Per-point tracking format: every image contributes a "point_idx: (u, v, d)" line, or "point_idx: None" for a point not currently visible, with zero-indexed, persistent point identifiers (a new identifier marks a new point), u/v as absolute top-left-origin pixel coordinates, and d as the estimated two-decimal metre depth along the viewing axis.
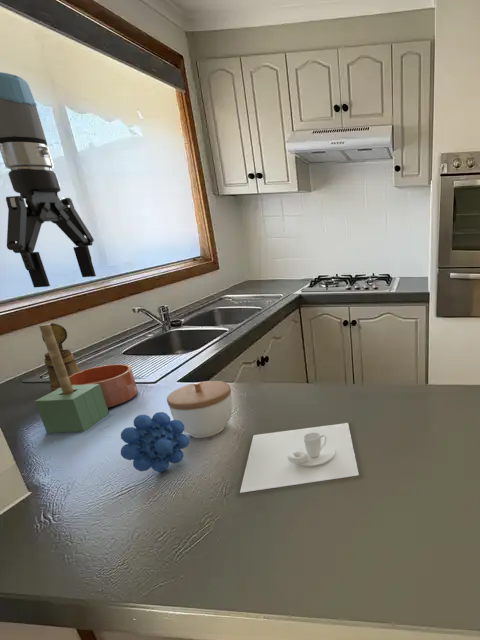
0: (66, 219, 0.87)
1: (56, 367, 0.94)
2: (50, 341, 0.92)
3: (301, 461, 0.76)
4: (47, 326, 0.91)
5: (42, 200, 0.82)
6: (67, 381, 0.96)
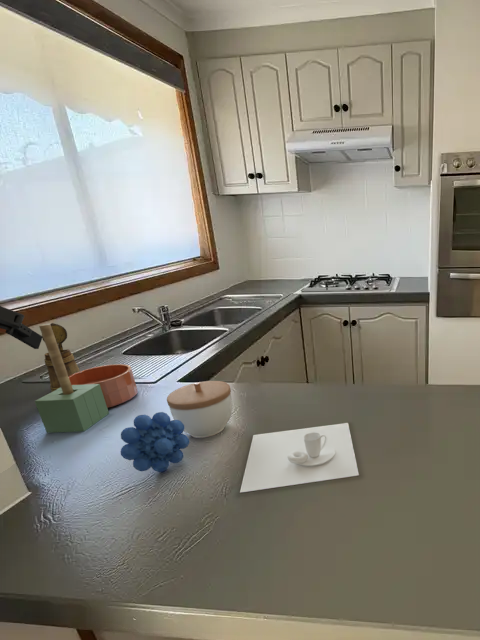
0: None
1: (56, 367, 0.94)
2: (50, 341, 0.92)
3: (301, 461, 0.76)
4: (47, 326, 0.91)
5: None
6: (67, 381, 0.96)
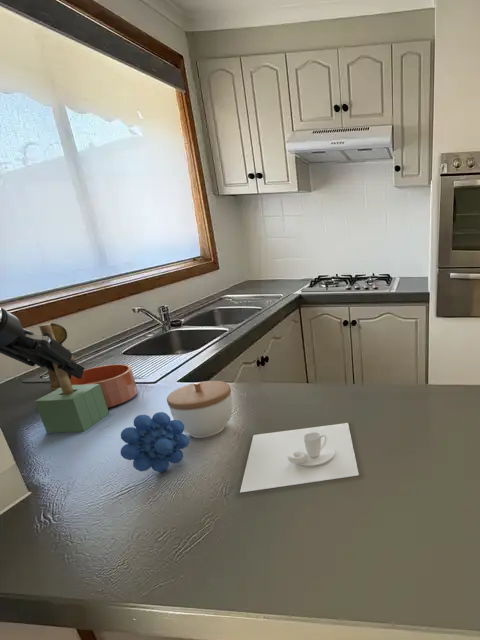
0: None
1: (56, 367, 0.94)
2: None
3: (301, 461, 0.76)
4: (47, 326, 0.91)
5: None
6: (67, 381, 0.96)
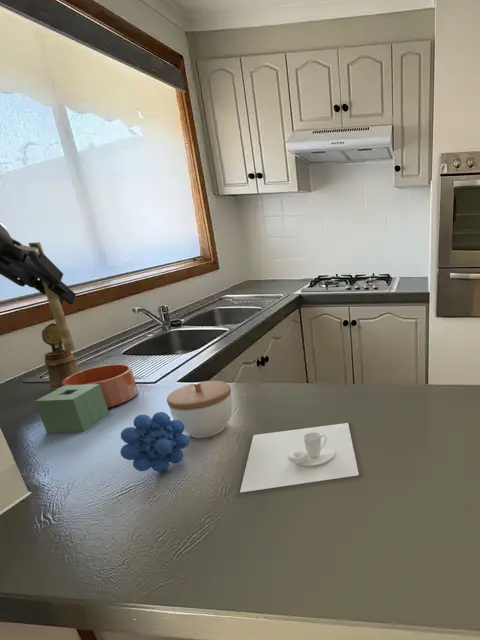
0: None
1: (46, 289, 0.92)
2: None
3: (301, 461, 0.76)
4: (37, 244, 0.89)
5: None
6: (58, 304, 0.94)
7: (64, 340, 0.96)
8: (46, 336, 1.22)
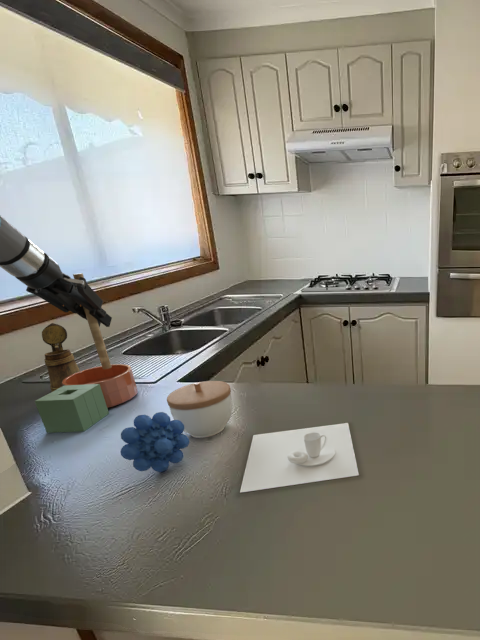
0: None
1: (87, 314, 1.03)
2: None
3: (301, 461, 0.76)
4: (80, 275, 1.00)
5: None
6: (97, 327, 1.05)
7: (102, 359, 1.07)
8: (46, 336, 1.22)
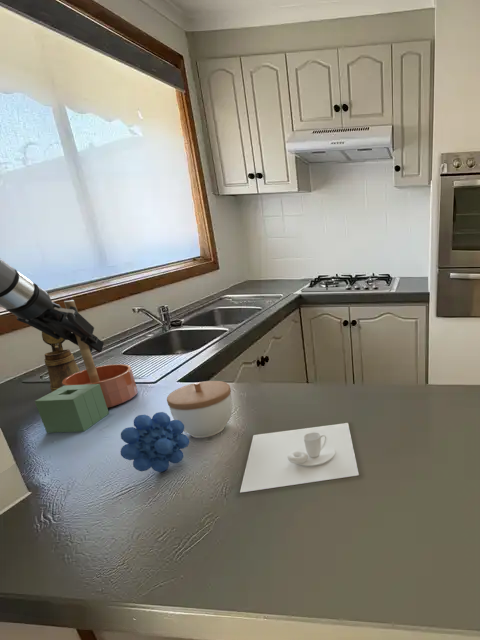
0: None
1: (79, 341, 1.03)
2: None
3: (301, 461, 0.76)
4: (71, 302, 1.00)
5: None
6: (89, 353, 1.05)
7: None
8: (46, 336, 1.22)
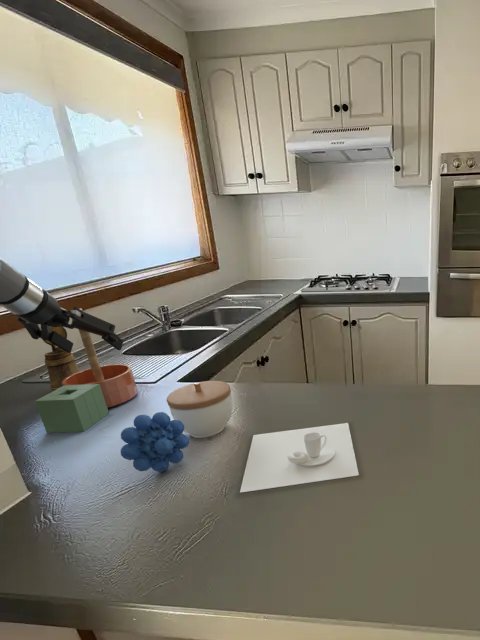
0: None
1: (86, 348, 1.06)
2: None
3: (301, 461, 0.76)
4: None
5: None
6: (96, 360, 1.08)
7: None
8: None
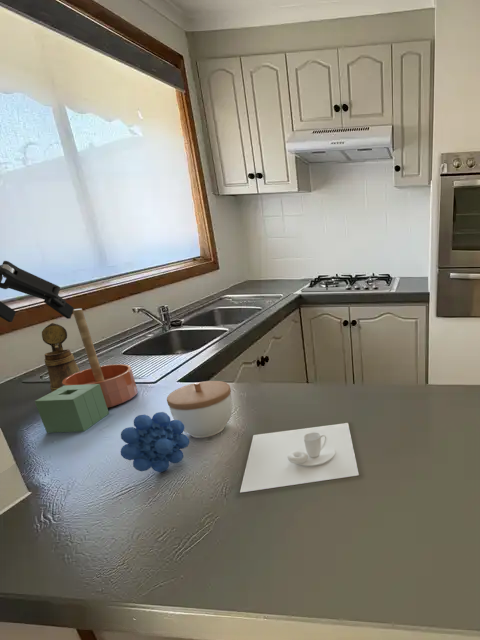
0: None
1: (86, 348, 1.06)
2: (82, 324, 1.04)
3: (301, 461, 0.76)
4: (79, 311, 1.03)
5: None
6: (96, 360, 1.08)
7: None
8: (46, 336, 1.22)
